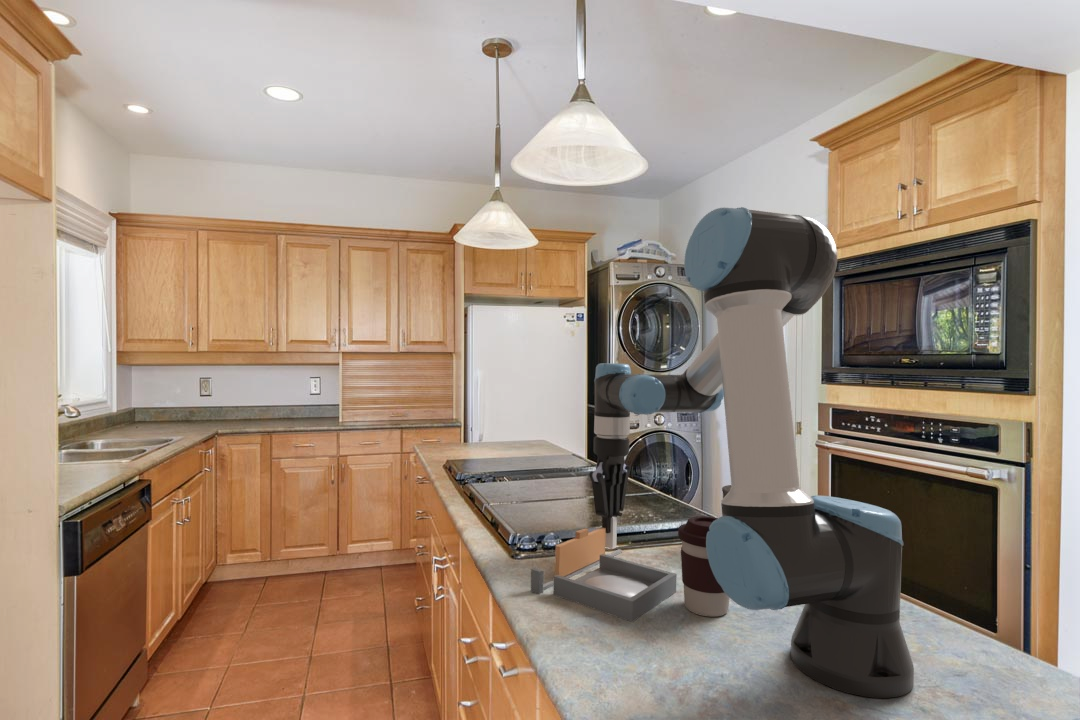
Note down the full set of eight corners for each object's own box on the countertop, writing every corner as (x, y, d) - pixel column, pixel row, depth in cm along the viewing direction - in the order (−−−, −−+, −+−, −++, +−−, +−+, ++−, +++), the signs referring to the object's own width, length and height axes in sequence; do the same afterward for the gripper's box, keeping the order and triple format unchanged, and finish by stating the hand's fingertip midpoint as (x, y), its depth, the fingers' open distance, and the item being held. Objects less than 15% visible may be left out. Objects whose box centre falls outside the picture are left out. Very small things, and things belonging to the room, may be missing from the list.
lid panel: (605, 556, 122) (605, 522, 122) (559, 578, 110) (559, 540, 109) (601, 555, 123) (601, 521, 123) (554, 577, 110) (555, 539, 110)
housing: (702, 573, 116) (703, 553, 116) (627, 625, 93) (627, 600, 93) (616, 550, 128) (616, 532, 128) (530, 591, 105) (531, 569, 105)
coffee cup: (743, 605, 101) (745, 519, 101) (727, 627, 93) (730, 533, 93) (687, 592, 107) (689, 510, 106) (668, 611, 98) (670, 522, 98)
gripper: (612, 431, 131) (610, 536, 131) (579, 436, 121) (576, 550, 121) (642, 434, 126) (640, 543, 127) (610, 440, 116) (607, 558, 117)
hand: (609, 546), depth 124 cm, fingers closed
